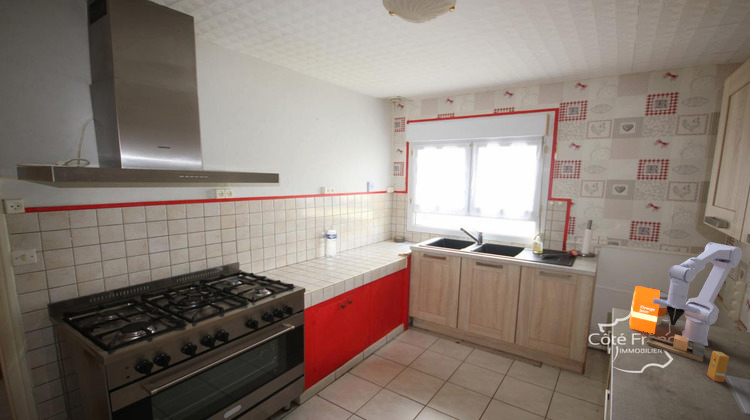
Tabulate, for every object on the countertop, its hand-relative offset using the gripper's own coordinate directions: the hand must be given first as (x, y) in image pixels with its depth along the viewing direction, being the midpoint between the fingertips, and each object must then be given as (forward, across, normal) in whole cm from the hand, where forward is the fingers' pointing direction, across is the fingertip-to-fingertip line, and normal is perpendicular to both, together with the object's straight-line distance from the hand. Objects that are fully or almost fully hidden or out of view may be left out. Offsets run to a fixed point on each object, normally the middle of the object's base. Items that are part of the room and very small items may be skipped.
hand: (672, 324), depth 137 cm
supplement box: (+10, +13, -18) cm, 24 cm away
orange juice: (+10, -10, +10) cm, 17 cm away
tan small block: (+8, +3, -3) cm, 9 cm away
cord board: (+9, +2, -3) cm, 10 cm away
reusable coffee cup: (+10, -8, +22) cm, 25 cm away
